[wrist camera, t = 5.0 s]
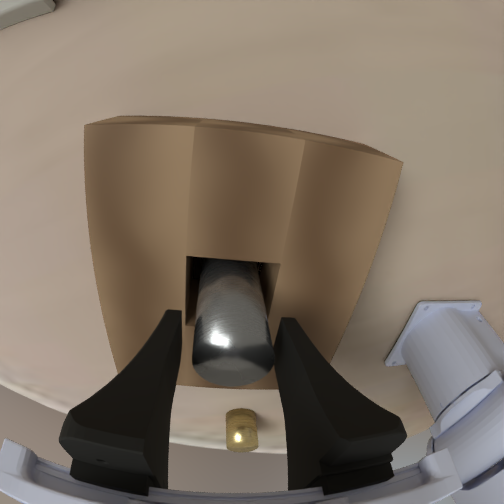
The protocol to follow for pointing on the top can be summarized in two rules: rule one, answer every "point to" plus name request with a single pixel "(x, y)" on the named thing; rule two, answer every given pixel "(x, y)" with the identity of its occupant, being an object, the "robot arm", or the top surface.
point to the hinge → (22, 10)
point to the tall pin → (231, 324)
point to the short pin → (241, 430)
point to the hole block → (230, 223)
